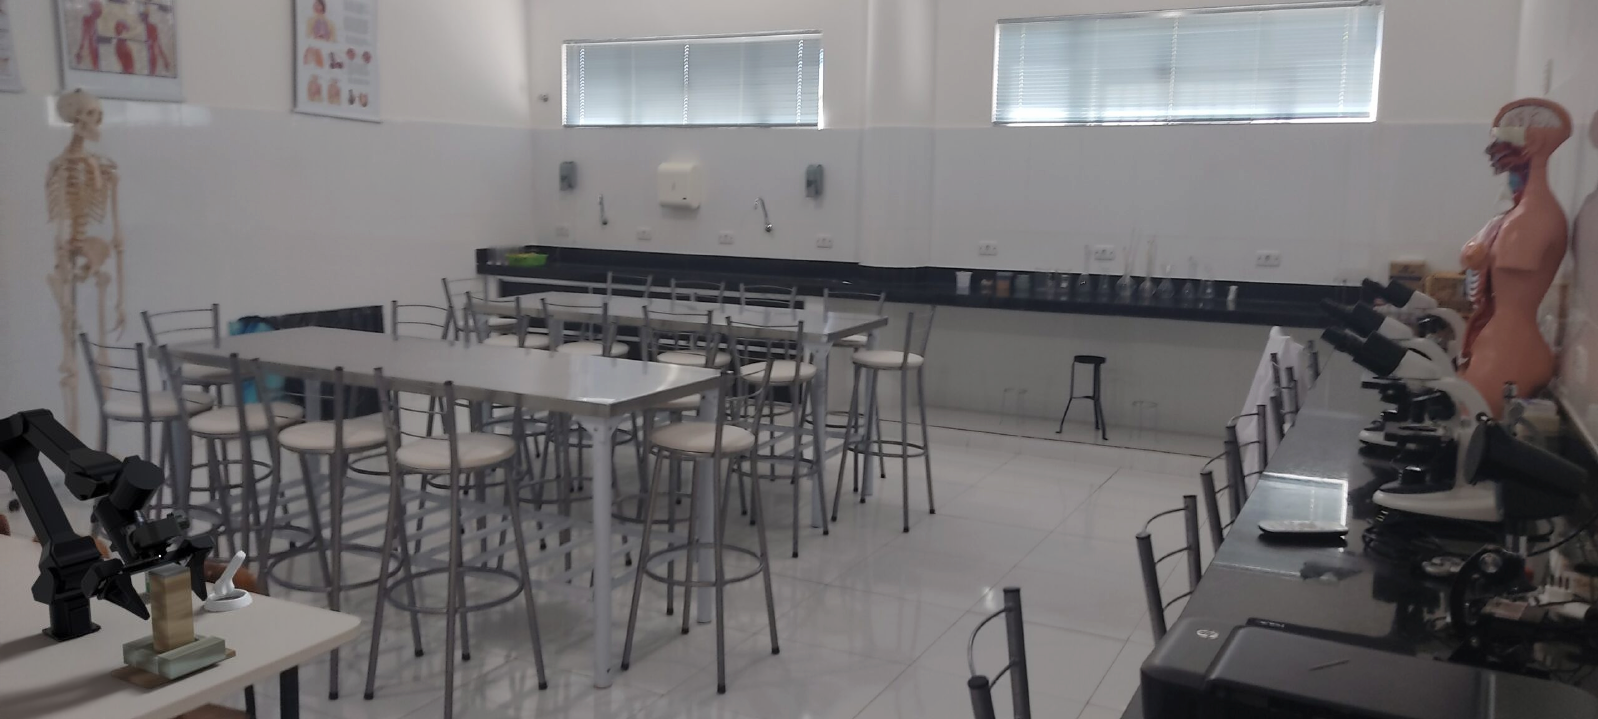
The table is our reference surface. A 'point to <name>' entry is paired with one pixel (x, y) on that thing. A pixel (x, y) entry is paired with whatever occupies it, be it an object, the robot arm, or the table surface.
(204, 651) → the socket
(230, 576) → the white stemmed ring
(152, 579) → the rail post
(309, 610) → the table surface
